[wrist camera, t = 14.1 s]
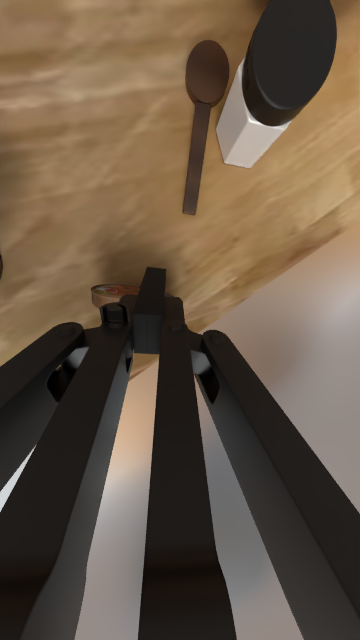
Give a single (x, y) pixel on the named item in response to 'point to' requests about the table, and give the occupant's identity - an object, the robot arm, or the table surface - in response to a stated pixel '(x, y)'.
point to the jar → (276, 77)
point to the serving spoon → (202, 107)
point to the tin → (112, 293)
